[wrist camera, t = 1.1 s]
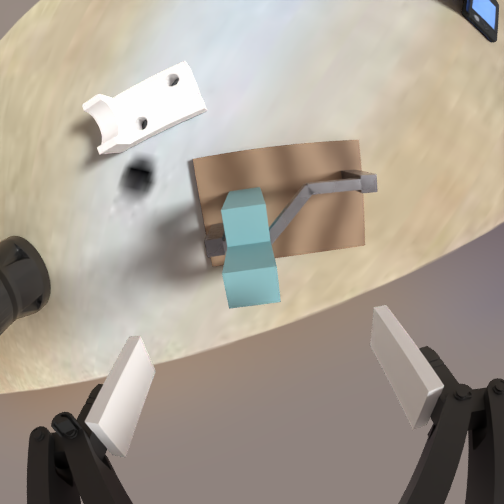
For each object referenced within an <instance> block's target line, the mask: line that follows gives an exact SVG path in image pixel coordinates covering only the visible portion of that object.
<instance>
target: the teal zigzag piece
mask: <svg viewBox="0 0 504 504" xmlns="http://www.w3.org/2000/svg"><path fill="white" fill-rule="evenodd" d="M221 213H222V219H223V225H224V231H225V236H226V242H227V251H226V257H225V262H224V267H223V272H222V275H223V280H224V285H225V290H226V295H227V300H228V305H229V308H237V307H245V306H253V305H261V304H268V303H275V302H281V301H280V292H279V283H278V274H277V266H276V262H275V258H274V254H273V249H272V245H271V241H270V234H269V226H268V218H267V211H266V204H265V201H264V198H263V195H262V192H261V189H260V187H257V188H249V189H243V190H236V191H229V193H228V195H227V198H226V200H225V202H224V204H223V207H222V209H221Z"/></svg>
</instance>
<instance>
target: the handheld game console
mask: <svg viewBox="0 0 504 504" xmlns="http://www.w3.org/2000/svg"><path fill="white" fill-rule="evenodd" d="M462 14H463V16H465V17H466V18H467V19H468V20H470V21H471V22H472V23H473V24H474V25H475V26H476V27H477V28H478V29H479V30H480V31H481V32H482V33H483V34H484V35H485V36H486V37H487V38H488V39H489V40H490V41H491V42H496V41H497V31H498V15H499V4H498V2H497V1H496V0H464V4H463V9H462Z"/></svg>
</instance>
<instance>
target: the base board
mask: <svg viewBox="0 0 504 504" xmlns="http://www.w3.org/2000/svg"><path fill="white" fill-rule="evenodd" d="M193 164H194V170H195V176H196V181H197V187H198V193H199V198H200V204H201V209H202V215H203V220H204V225H205V231H206V236H207V234H208V231H209V229H210V227H211V225H212V224H218V223H223V219H222V213H221V209H222V207H223V204H224V202H225V200H226V198H227V195H228V193H229V191H236V190H243V189H249V188H257V187H260V189H261V192H262V195H263V198H264V201H265V204H266V211H267V218H268V226H269V227H270V226H271V224H272V223H273V222H274V221H275V219H276V218H277V217H278V216H279V214H280V213H281V212H282V210H283V209H284V208H285V207H286V205H287V204H288V203H289V202H290V200H291V199H292V198H293V197H294V195H295V194H296V193H297V192H298V190H299V189H300V188H301V187H302V185H303V184H305V185H306V183H309V182H319V181H329V180H339V179H342V176H341V170H353V169H355V170H360V171H362V170H361V159H360V149H359V140H346V141H329V142H315V143H304V144H293V145H284V146H275V147H266V148H259V149H251V150H244V151H237V152H231V153H224V154H218V155H213V156H207V157H201V158H196V159H193ZM271 245H272V249H273V254H274V258H280V257H287V256H294V255H301V254H308V253H315V252H322V251H329V250H336V249H343V248H350V247H357V246H364V245H365V225H364V200H363V193H360V192H358V191H355V190H353V191H343V192H333V193H324V194H315V195H312V196H311V197H310V198H309V199H308V201H307V202H306V203H305V204H304V206H303V207H302V208H301V209H300V211H299V212H298V213H297V214H296V216H295V217H294V218H293V219H292V221H291V222H290V223H289V224H288V225H287V227H286V228H285V229H284V230H283V232H282V233H281V234H280V235H279V237H278V238H277V239H276V240H275V242H274V243H273V244H271ZM225 257H226V253H225V255H221V256H214V257H211V261H212V266H213V267H214V266H221V265H224V262H225Z"/></svg>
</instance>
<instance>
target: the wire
mask: <svg viewBox="0 0 504 504" xmlns="http://www.w3.org/2000/svg"><path fill="white" fill-rule="evenodd" d="M341 176H342V179H339V180H329V181H319V182H309V183H306V185H305V184H303V185H302V187H301V188H300V189H299V190H298V192H297V193H296V194H295V195H294V197H293V198H292V199H291V200H290V202H289V203H288V204H287V205H286V207H285V208H284V209H283V210H282V212H281V213H280V214H279V216H278V217H277V218H276V219H275V221H274V222H273V223H272V224H271V226H270V227H269V234H270V241H271V244H273V243H274V242H275V240H276V239H277V238H278V237H279V235H280V234H281V233H282V232H283V230H284V229H285V228H286V227H287V225H288V224H289V223H290V222H291V221H292V219H293V218H294V217H295V216H296V214H297V213H298V212H299V211H300V209H301V208H302V207H303V206H304V204H305V203H306V202H307V201H308V199H309V198H310V197H311V196H312V195H315V194H324V193H333V192H343V191H353V190H355V191H358V192H360V193H370V192H377V176H376V174H373V173H368V172H364V171H360V170H355V169H353V170H341ZM204 242H205V247H206V251H207V256H208V257H214V256H221V255H225V253H226V251H227V242H226V236H225V231H224V225H223V223H218V224H212V225H211V227H210V229H209V231H208V234H207V236H206V238H205V240H204Z"/></svg>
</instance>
